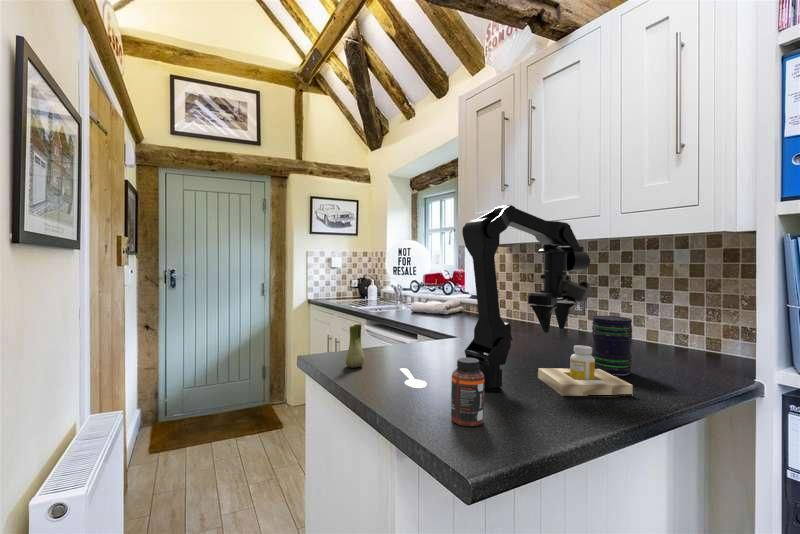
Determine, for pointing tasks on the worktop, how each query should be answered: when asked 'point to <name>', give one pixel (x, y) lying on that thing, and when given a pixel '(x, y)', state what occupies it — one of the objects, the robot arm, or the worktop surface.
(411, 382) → the spoon
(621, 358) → the storage jar
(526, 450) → the worktop surface
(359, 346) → the fennel bulb
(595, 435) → the worktop surface
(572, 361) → the supplement bottle
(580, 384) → the wooden frame
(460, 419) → the supplement bottle
